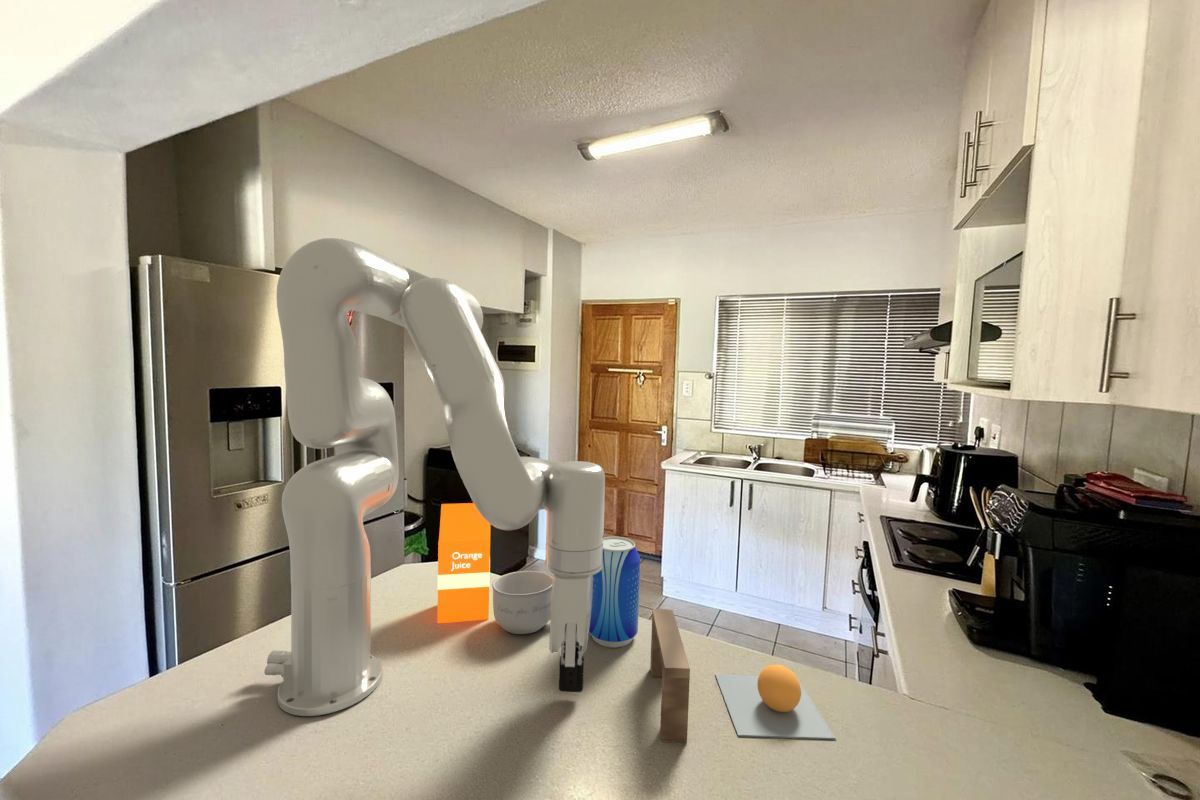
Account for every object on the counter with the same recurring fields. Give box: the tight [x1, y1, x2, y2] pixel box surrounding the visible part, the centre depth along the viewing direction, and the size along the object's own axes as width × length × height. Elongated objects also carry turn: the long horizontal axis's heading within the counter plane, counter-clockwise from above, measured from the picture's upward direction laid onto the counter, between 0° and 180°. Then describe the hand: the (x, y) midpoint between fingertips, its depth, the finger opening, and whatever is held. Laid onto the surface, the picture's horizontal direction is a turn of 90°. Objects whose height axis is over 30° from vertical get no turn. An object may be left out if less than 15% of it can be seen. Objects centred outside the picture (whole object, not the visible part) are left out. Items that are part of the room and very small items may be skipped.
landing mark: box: [715, 674, 837, 740], centre depth 66 cm, size 12×12×1 cm
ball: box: [757, 664, 801, 712], centre depth 65 cm, size 6×6×6 cm
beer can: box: [589, 536, 641, 648], centre depth 81 cm, size 8×8×16 cm
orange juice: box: [437, 502, 491, 624], centre depth 88 cm, size 8×9×20 cm
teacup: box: [491, 570, 553, 635], centre depth 84 cm, size 14×11×8 cm
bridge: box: [650, 608, 691, 743], centre depth 65 cm, size 3×14×9 cm, turn 0°
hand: (571, 687), depth 66 cm, fingers closed
